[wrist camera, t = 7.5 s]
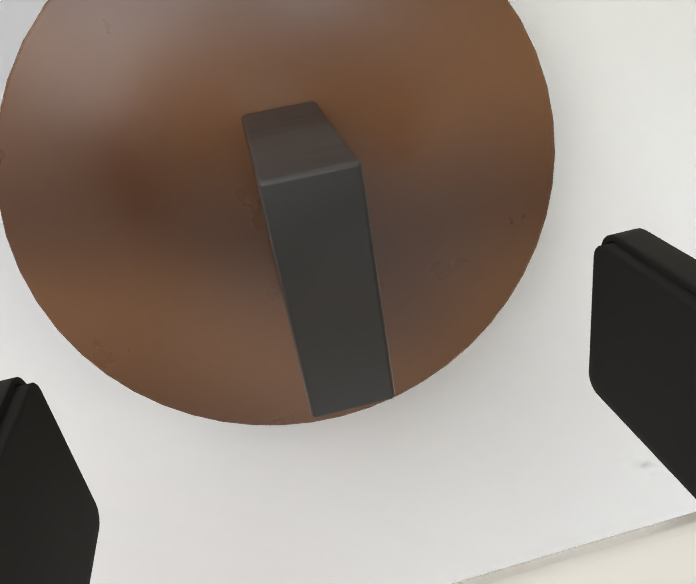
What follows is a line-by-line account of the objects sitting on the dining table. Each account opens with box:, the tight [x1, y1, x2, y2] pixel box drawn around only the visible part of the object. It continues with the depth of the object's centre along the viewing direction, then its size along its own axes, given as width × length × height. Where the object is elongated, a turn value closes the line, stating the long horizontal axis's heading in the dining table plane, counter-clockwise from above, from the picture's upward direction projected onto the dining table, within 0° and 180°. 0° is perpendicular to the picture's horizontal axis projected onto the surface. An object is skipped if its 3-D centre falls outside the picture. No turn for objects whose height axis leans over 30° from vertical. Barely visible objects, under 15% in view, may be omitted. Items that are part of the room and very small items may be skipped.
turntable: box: [0, 0, 555, 425], centre depth 14 cm, size 14×14×6 cm
